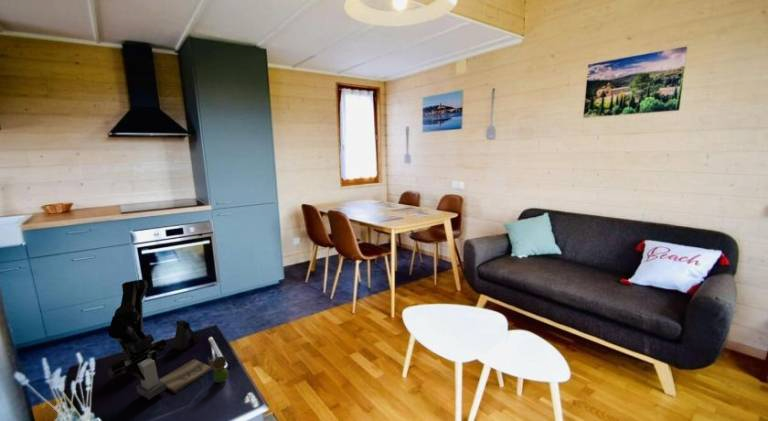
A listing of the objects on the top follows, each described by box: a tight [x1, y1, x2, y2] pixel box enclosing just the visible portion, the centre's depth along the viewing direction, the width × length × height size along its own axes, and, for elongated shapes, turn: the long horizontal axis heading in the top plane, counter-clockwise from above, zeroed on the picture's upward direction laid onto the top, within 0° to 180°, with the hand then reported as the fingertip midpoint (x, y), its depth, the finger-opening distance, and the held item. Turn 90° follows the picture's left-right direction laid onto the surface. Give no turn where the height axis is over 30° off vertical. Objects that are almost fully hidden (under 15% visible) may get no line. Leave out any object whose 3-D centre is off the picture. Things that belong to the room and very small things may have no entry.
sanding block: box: [136, 358, 167, 400], centre depth 128 cm, size 8×6×12 cm
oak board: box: [158, 358, 213, 394], centre depth 139 cm, size 12×15×1 cm
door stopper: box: [172, 318, 200, 352], centre depth 160 cm, size 9×6×12 cm, turn 148°
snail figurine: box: [207, 356, 230, 384], centre depth 134 cm, size 5×6×12 cm
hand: (150, 376), depth 127 cm, fingers closed on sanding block, 4 cm apart
